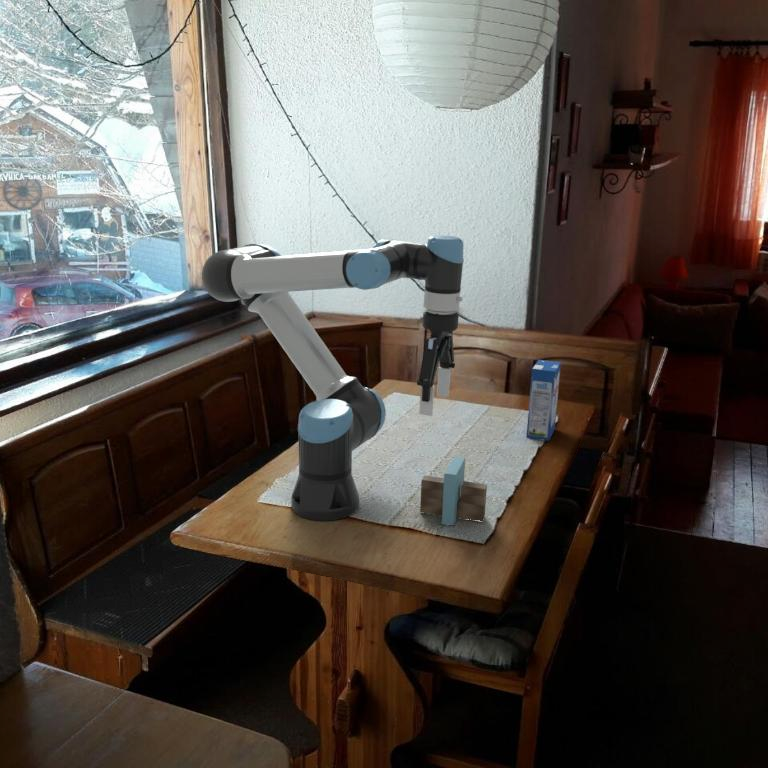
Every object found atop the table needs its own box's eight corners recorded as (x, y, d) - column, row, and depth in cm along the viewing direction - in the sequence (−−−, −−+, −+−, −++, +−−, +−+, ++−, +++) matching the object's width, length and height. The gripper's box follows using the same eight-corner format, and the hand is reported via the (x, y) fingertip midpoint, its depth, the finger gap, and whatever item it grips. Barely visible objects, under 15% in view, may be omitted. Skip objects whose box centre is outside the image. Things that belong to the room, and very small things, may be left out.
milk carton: (548, 440, 221) (555, 371, 215) (526, 437, 223) (532, 368, 217) (554, 429, 230) (561, 362, 224) (533, 425, 232) (538, 359, 226)
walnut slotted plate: (420, 512, 178) (421, 479, 175) (422, 508, 180) (424, 475, 177) (482, 522, 174) (484, 489, 171) (484, 517, 176) (486, 484, 174)
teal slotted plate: (453, 526, 172) (456, 474, 168) (441, 524, 173) (444, 473, 169) (462, 506, 181) (465, 457, 177) (451, 504, 182) (454, 455, 178)
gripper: (442, 325, 157) (435, 426, 164) (472, 301, 180) (464, 390, 186) (406, 320, 159) (400, 420, 166) (439, 297, 182) (433, 386, 188)
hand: (434, 404), depth 176 cm, fingers open, 13 cm apart
